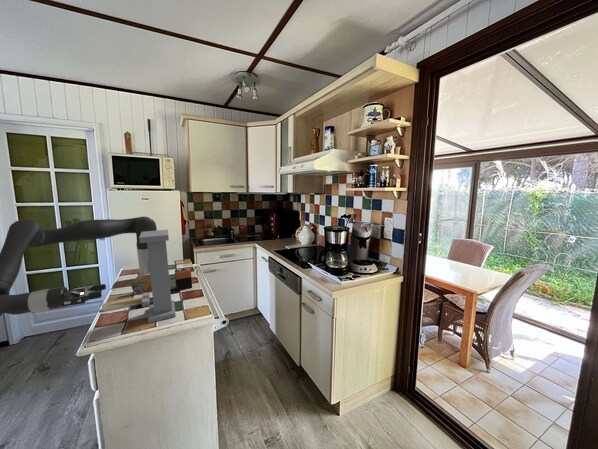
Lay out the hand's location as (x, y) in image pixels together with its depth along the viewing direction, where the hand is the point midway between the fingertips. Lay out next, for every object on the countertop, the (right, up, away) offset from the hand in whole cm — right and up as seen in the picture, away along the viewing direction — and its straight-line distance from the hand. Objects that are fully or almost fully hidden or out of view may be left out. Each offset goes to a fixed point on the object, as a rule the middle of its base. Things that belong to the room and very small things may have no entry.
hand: (103, 290), depth 101 cm
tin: (+8, -5, +19) cm, 22 cm away
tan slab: (+6, -8, +5) cm, 11 cm away
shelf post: (+24, -8, -1) cm, 26 cm away
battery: (+22, -5, +22) cm, 32 cm away
